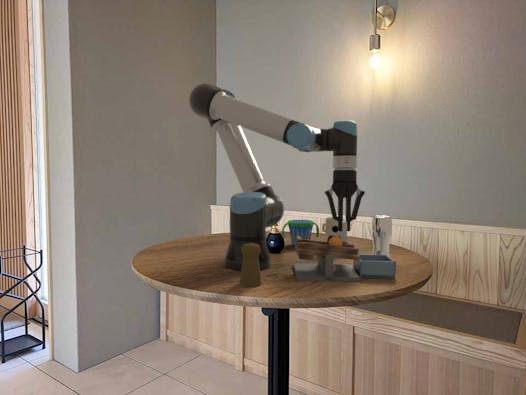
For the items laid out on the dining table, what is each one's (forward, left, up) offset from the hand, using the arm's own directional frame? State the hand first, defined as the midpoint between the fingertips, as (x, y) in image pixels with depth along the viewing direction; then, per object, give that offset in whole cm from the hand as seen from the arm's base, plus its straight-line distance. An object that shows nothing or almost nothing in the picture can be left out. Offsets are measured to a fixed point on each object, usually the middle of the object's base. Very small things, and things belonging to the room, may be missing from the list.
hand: (343, 241), depth 130 cm
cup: (+7, -11, -8) cm, 15 cm away
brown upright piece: (-30, -23, -8) cm, 38 cm away
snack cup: (-12, +33, -8) cm, 36 cm away
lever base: (-8, -11, -8) cm, 15 cm away
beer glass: (+15, +11, -8) cm, 21 cm away
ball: (-5, -11, +1) cm, 12 cm away
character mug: (0, +21, -8) cm, 23 cm away
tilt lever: (-8, -7, -4) cm, 11 cm away
